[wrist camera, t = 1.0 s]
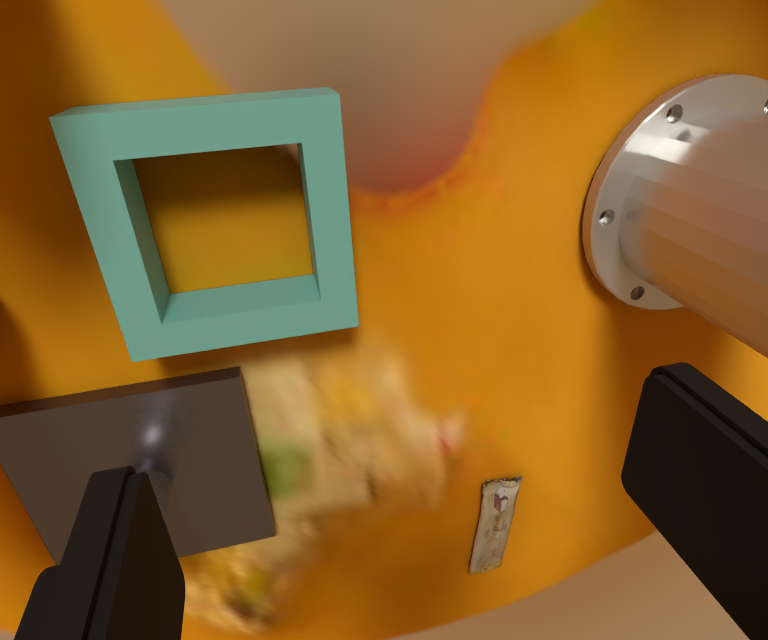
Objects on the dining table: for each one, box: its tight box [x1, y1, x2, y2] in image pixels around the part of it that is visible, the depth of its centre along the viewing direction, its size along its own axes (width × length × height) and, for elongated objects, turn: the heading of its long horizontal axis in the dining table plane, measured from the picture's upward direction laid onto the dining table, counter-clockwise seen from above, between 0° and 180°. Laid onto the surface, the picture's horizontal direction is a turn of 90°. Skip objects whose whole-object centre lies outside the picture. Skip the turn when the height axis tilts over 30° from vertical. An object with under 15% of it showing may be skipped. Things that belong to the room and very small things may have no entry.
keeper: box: [0, 366, 275, 566], centre depth 26 cm, size 12×12×9 cm
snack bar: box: [469, 477, 523, 575], centre depth 38 cm, size 10×2×3 cm
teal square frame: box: [49, 87, 359, 362], centre depth 22 cm, size 10×10×3 cm
